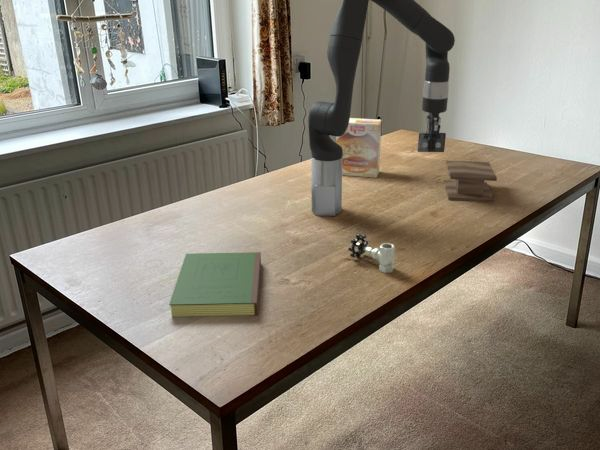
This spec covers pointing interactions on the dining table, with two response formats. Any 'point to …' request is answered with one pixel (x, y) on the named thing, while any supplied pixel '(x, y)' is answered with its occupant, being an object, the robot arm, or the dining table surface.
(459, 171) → the stand
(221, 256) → the hardcover book
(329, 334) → the dining table surface
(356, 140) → the coffeecake box
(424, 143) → the mini dv tape
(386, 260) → the valve
